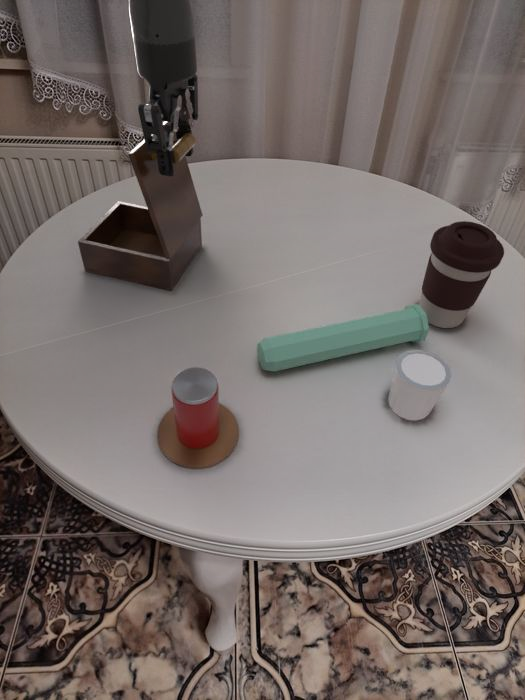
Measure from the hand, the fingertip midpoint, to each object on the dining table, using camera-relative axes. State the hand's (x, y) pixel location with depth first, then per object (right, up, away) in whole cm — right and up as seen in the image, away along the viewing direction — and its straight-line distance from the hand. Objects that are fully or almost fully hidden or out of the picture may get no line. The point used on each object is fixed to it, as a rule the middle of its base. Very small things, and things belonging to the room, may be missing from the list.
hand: (177, 163), depth 74 cm
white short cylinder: (+32, -34, -6) cm, 47 cm away
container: (+24, -27, +1) cm, 36 cm away
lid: (-2, -3, +3) cm, 5 cm away
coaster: (+4, -38, -11) cm, 39 cm away
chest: (-8, -11, +14) cm, 20 cm away
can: (+4, -37, -11) cm, 39 cm away
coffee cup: (+41, -22, +8) cm, 47 cm away
